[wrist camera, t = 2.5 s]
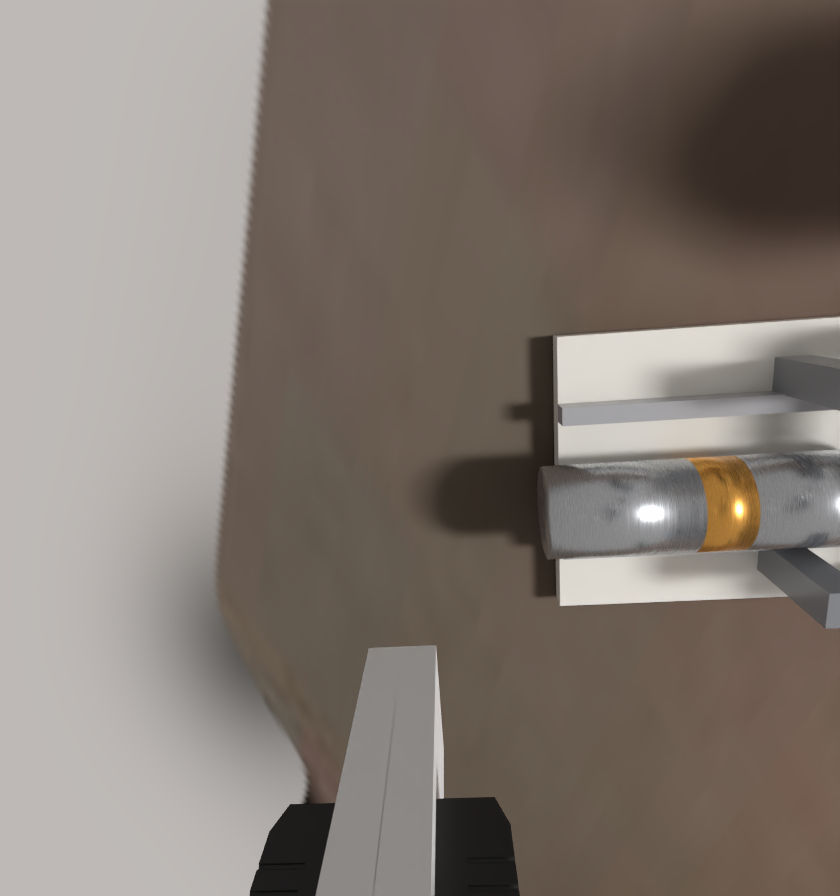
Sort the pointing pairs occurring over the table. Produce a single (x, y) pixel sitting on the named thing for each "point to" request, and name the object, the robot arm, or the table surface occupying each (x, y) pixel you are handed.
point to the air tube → (690, 505)
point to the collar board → (700, 443)
